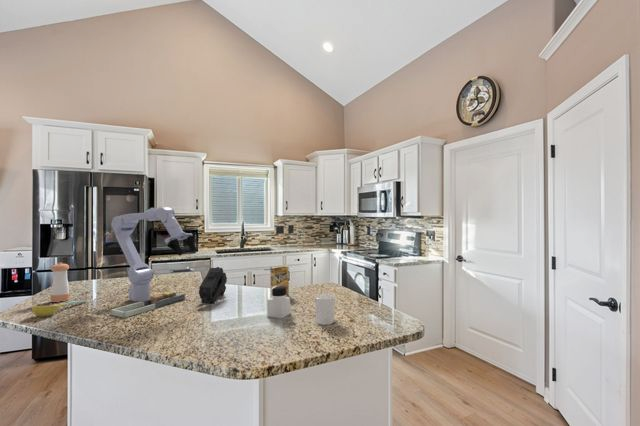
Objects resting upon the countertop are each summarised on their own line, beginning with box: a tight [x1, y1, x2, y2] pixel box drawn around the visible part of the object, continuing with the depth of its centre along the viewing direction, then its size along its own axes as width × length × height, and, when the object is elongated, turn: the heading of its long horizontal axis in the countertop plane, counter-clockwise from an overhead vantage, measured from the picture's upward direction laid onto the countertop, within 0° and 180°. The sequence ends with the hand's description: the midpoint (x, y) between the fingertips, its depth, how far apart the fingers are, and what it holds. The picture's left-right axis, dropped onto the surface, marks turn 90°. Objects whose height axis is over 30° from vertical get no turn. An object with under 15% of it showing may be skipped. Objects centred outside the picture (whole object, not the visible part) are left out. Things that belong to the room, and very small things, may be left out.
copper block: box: [150, 294, 164, 305], centre depth 141 cm, size 4×4×4 cm
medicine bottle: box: [266, 286, 291, 320], centre depth 128 cm, size 7×7×12 cm
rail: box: [142, 292, 187, 309], centre depth 144 cm, size 10×16×4 cm, turn 154°
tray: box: [110, 301, 156, 319], centre depth 131 cm, size 9×13×3 cm
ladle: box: [31, 300, 88, 318], centre depth 137 cm, size 9×26×6 cm, turn 178°
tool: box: [198, 266, 228, 304], centre depth 150 cm, size 7×21×16 cm, turn 174°
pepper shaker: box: [50, 262, 71, 303], centre depth 152 cm, size 7×7×19 cm
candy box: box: [269, 265, 290, 298], centre depth 159 cm, size 9×4×15 cm, turn 125°
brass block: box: [161, 291, 176, 299], centre depth 146 cm, size 4×4×4 cm
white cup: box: [314, 293, 336, 326], centre depth 119 cm, size 8×8×10 cm
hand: (187, 252), depth 143 cm, fingers open, 7 cm apart
